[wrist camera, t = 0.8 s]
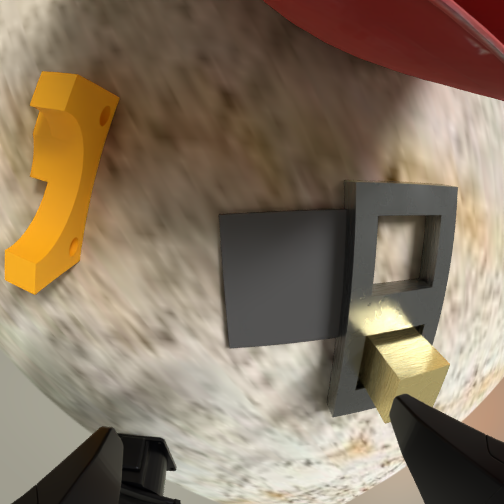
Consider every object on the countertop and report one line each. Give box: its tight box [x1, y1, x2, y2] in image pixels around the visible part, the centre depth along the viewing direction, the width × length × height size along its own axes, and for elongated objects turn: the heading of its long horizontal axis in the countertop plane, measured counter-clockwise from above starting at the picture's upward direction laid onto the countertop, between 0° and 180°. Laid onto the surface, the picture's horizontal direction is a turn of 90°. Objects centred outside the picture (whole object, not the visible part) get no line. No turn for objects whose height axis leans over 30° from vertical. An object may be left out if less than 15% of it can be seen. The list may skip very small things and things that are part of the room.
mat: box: [219, 209, 346, 348], centre depth 21 cm, size 10×10×1 cm
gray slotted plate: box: [327, 180, 458, 417], centre depth 21 cm, size 20×9×2 cm, turn 3°
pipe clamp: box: [5, 71, 120, 295], centre depth 14 cm, size 12×4×6 cm, turn 161°
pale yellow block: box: [358, 327, 450, 423], centre depth 20 cm, size 4×4×7 cm
